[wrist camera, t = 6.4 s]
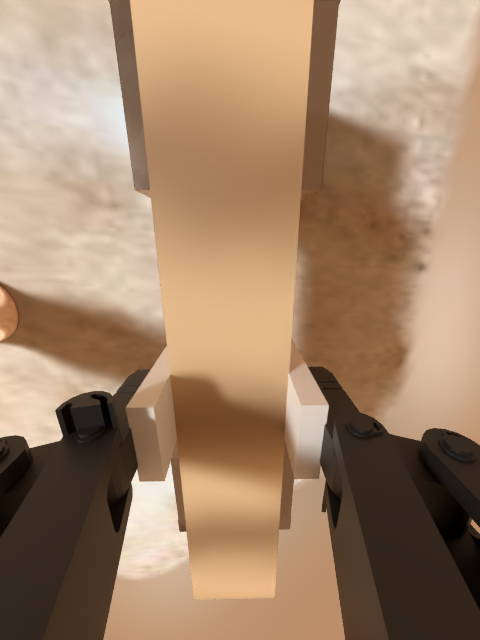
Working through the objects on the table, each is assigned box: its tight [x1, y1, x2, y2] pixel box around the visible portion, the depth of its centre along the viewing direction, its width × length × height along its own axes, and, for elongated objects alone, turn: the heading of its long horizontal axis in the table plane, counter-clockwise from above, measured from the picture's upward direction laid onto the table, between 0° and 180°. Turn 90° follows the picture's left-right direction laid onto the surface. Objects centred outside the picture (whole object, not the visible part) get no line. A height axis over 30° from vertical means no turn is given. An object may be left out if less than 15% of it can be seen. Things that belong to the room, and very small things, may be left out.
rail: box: [130, 0, 314, 600], centre depth 11 cm, size 22×4×6 cm, turn 0°
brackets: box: [108, 0, 341, 532], centre depth 17 cm, size 29×8×8 cm, turn 0°
